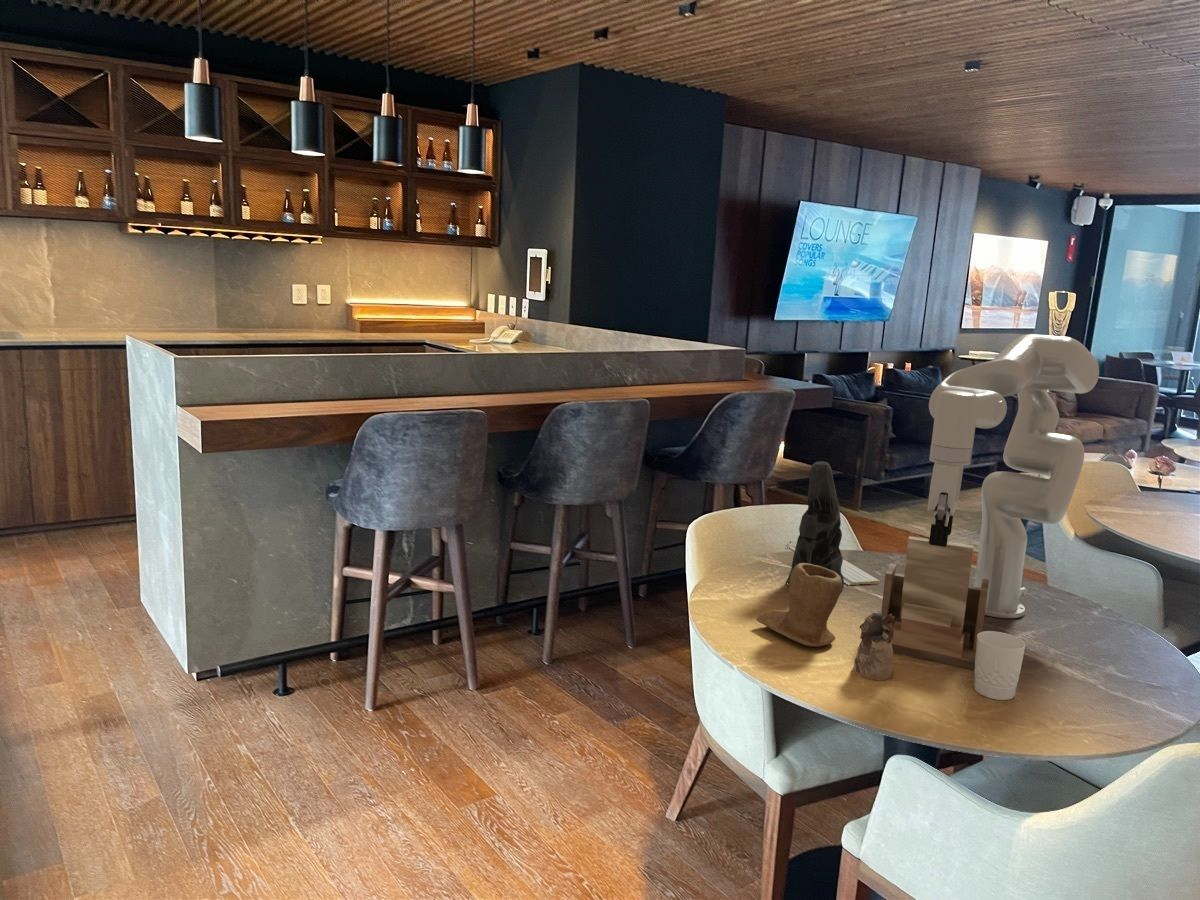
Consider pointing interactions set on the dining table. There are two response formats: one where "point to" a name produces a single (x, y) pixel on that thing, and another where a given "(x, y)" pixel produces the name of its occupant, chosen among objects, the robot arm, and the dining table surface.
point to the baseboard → (852, 573)
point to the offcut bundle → (929, 631)
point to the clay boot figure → (807, 606)
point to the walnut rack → (971, 621)
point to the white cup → (998, 664)
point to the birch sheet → (937, 576)
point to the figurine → (875, 648)
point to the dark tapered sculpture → (820, 524)
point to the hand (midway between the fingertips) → (940, 539)
